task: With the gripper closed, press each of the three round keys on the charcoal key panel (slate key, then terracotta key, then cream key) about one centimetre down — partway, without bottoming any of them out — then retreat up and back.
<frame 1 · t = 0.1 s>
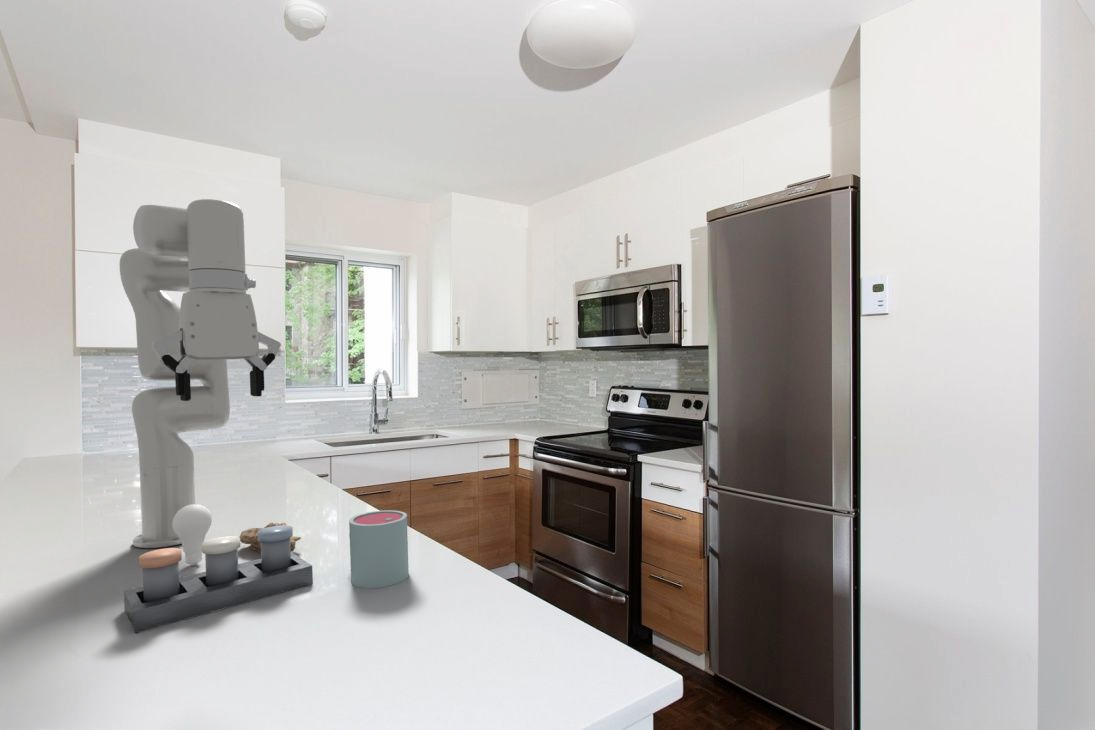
hand: (222, 398, 89), 31 cm above the counter, fingers open, 9 cm apart
mug: (373, 575, 100), on the counter
terracotta key: (161, 574, 86), point 6 cm above the counter, slide at 0.0 cm
key panel: (223, 596, 92), on the counter
slate key: (275, 548, 97), point 6 cm above the counter, slide at 0.0 cm
rock: (278, 551, 115), on the counter
lightbulb: (194, 566, 107), on the counter
cream key: (221, 560, 92), point 6 cm above the counter, slide at 0.0 cm
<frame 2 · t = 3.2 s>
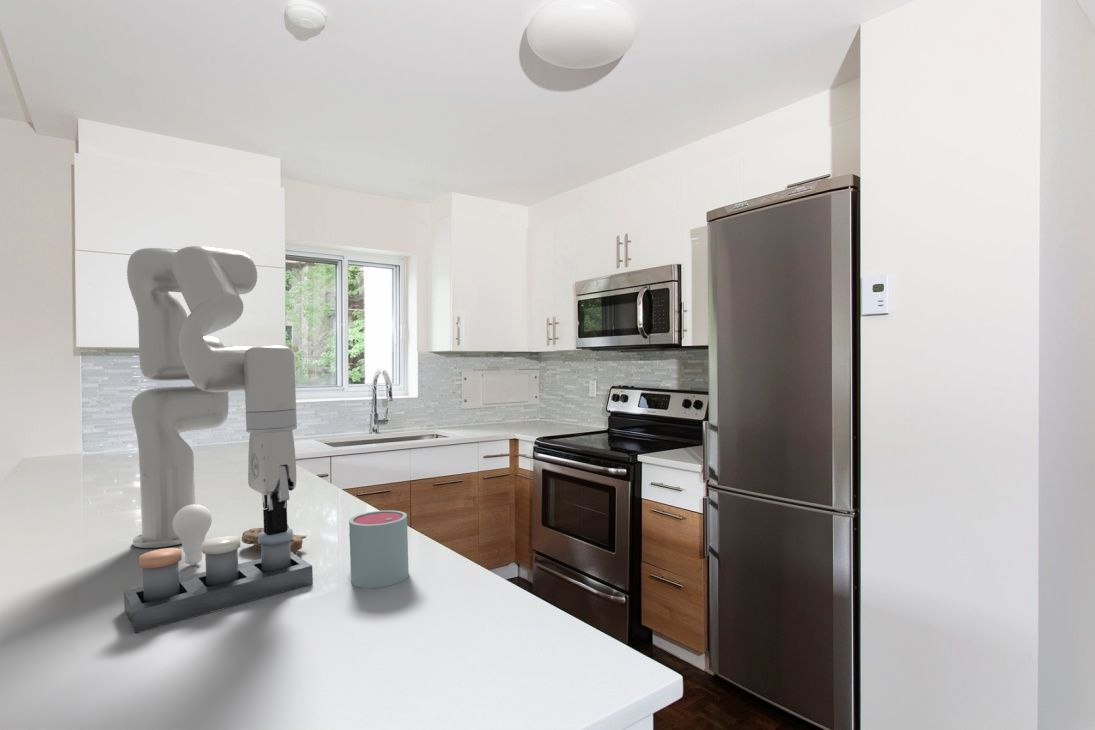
hand: (275, 532, 97), 8 cm above the counter, fingers closed
slate key: (275, 551, 97), point 5 cm above the counter, slide at 0.4 cm, touching gripper
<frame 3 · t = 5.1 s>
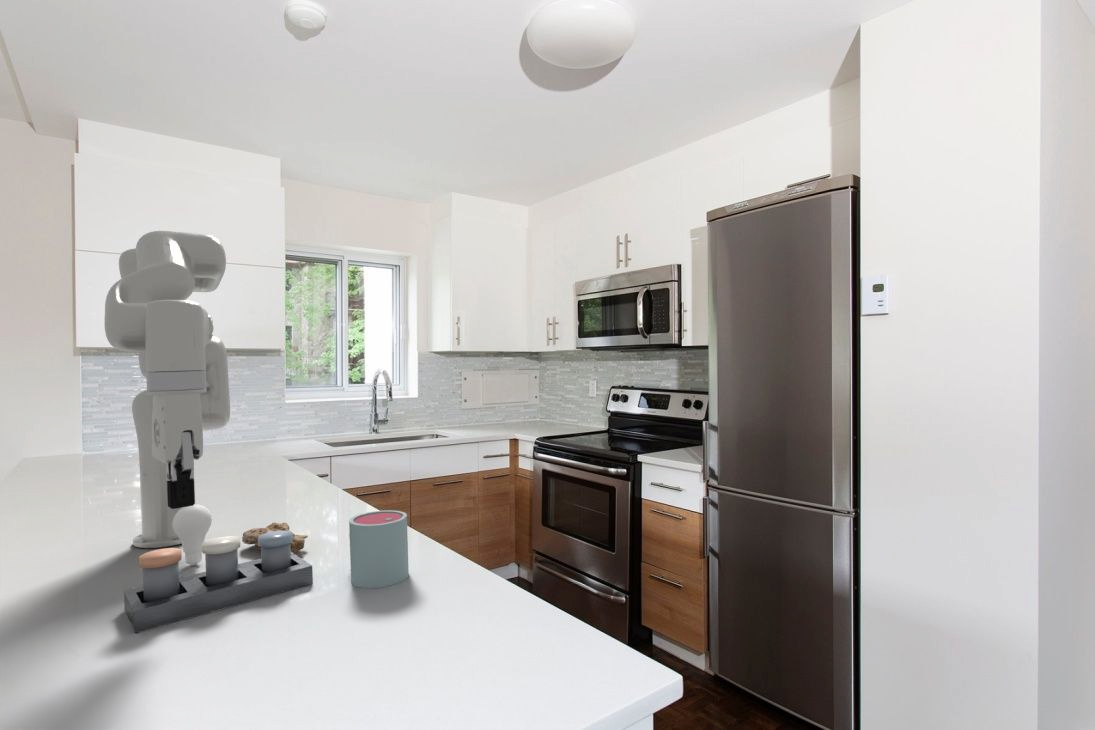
hand: (181, 506, 88), 15 cm above the counter, fingers closed
slate key: (276, 554, 97), point 5 cm above the counter, slide at 0.9 cm
everything else where it was.
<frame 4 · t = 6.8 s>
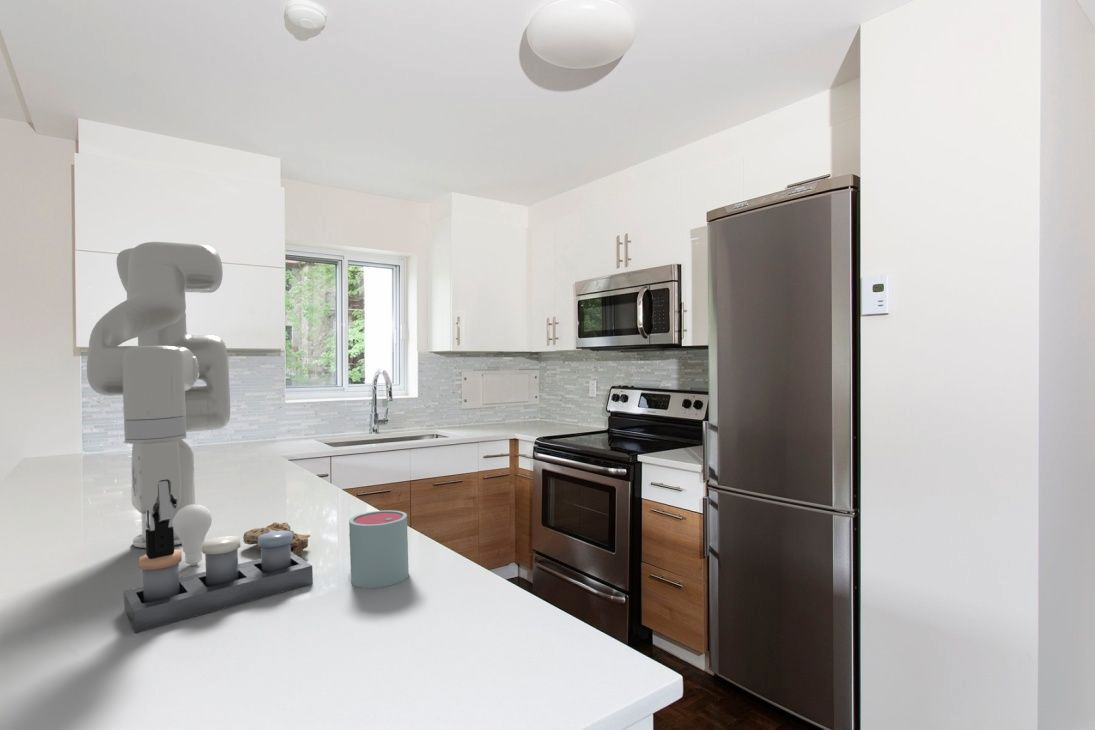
hand: (160, 555, 86), 9 cm above the counter, fingers closed
terracotta key: (161, 576, 86), point 5 cm above the counter, slide at 0.2 cm, touching gripper
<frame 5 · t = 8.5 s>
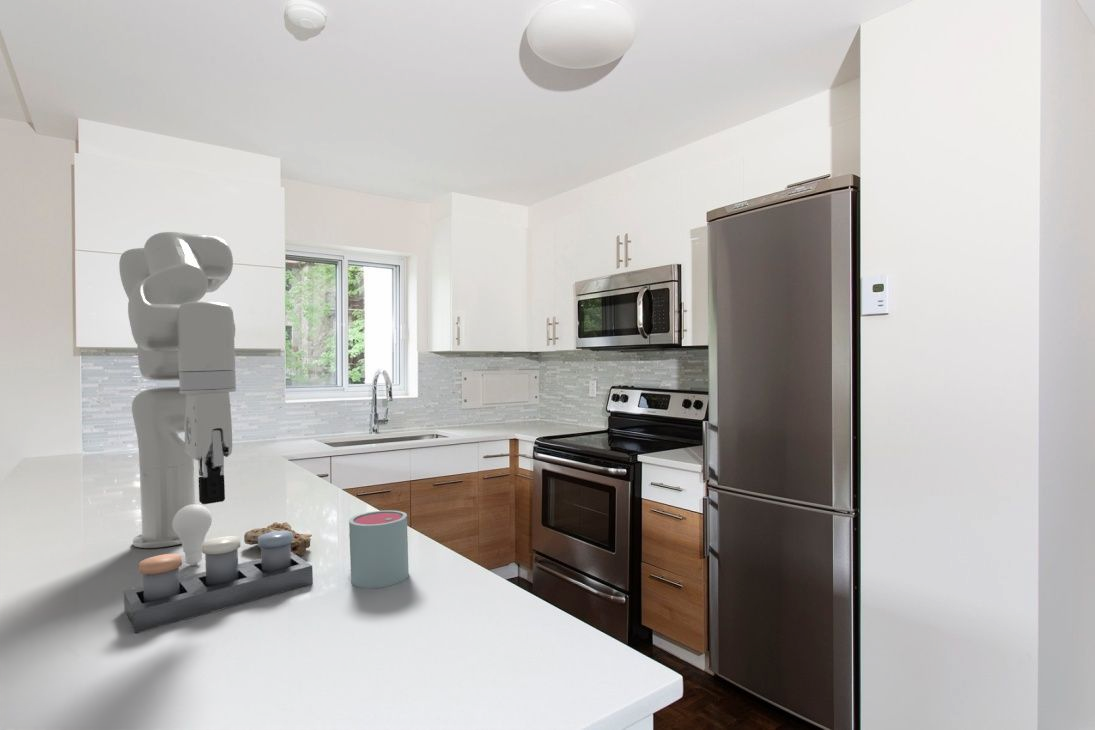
hand: (212, 501, 91), 15 cm above the counter, fingers closed
terracotta key: (161, 580, 86), point 5 cm above the counter, slide at 0.9 cm
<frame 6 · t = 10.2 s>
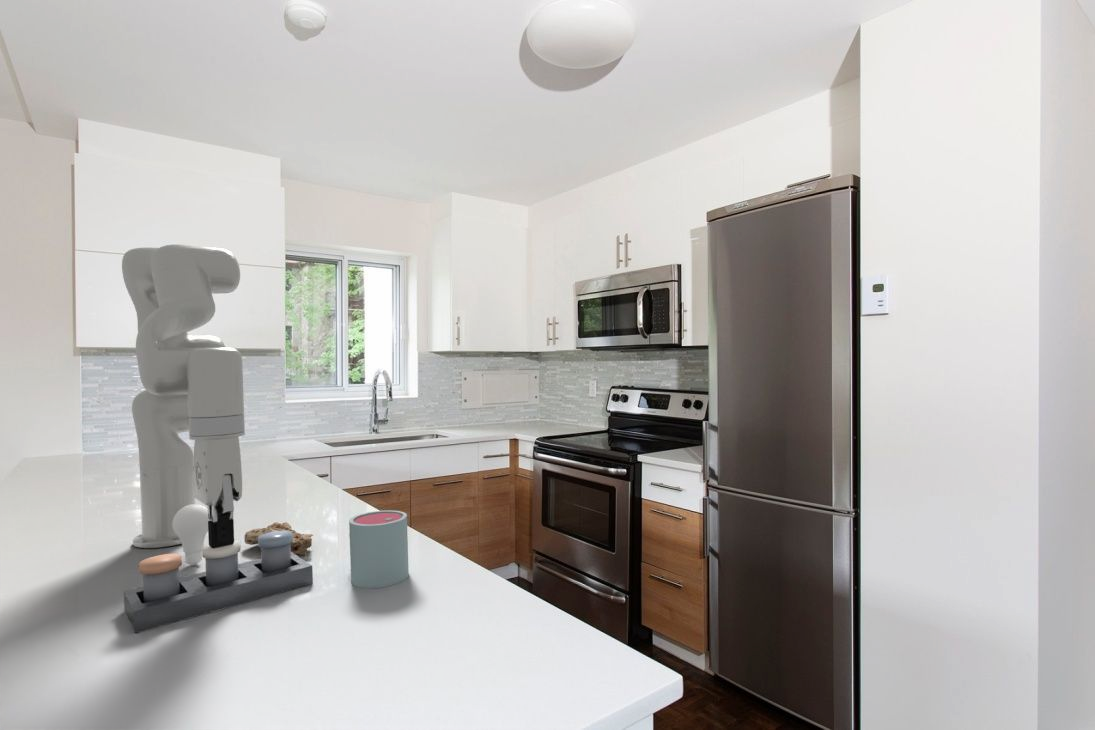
hand: (221, 545, 92), 8 cm above the counter, fingers closed
cream key: (222, 564, 92), point 5 cm above the counter, slide at 0.6 cm, touching gripper
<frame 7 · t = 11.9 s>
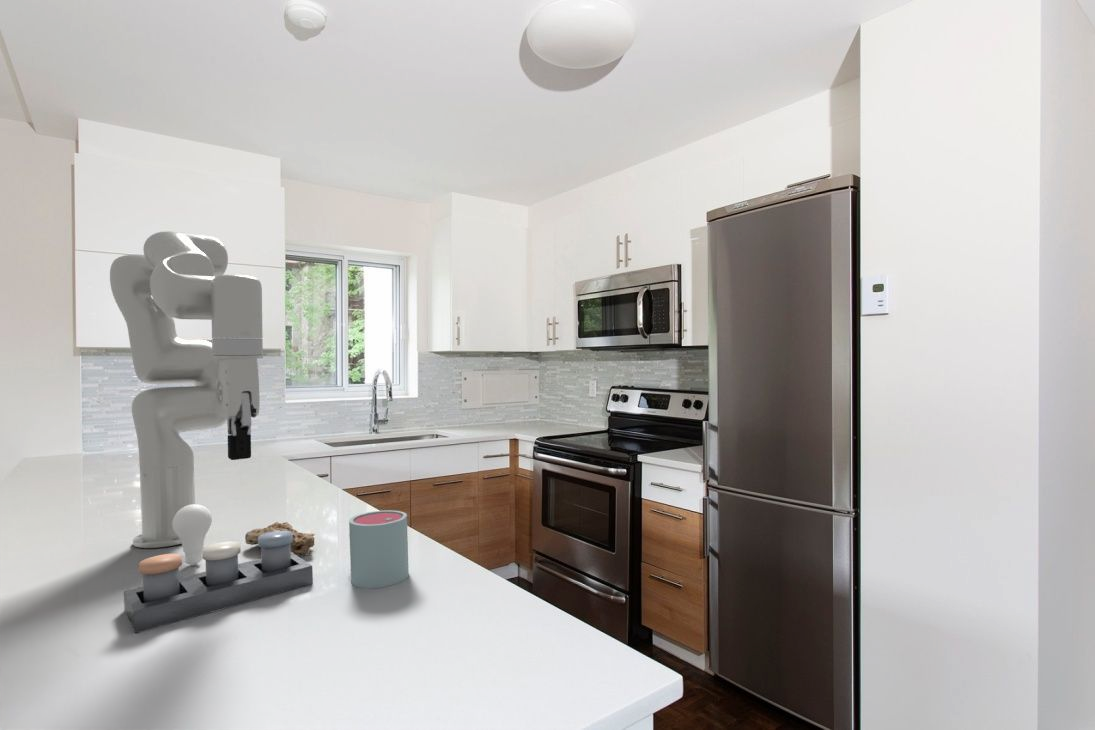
hand: (239, 458, 100), 20 cm above the counter, fingers closed
cream key: (222, 566, 92), point 5 cm above the counter, slide at 0.9 cm
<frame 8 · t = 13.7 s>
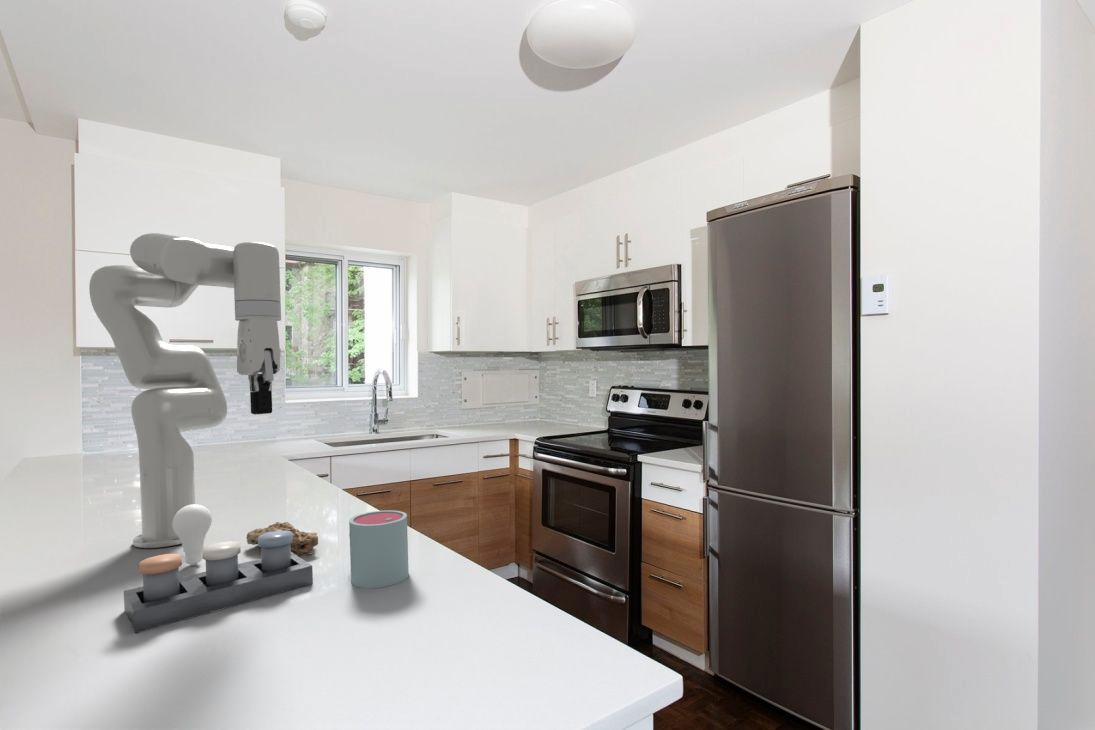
hand: (261, 413, 107), 27 cm above the counter, fingers closed
at the end: slate key slide at 0.9 cm; terracotta key slide at 0.9 cm; cream key slide at 0.9 cm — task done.
